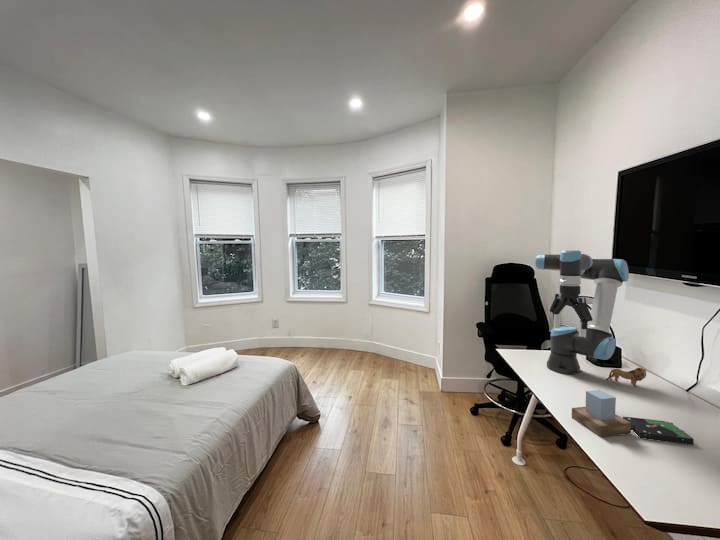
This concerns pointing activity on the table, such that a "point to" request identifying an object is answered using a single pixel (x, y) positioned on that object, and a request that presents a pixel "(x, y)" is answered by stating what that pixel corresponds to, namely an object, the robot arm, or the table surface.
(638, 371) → the lion figurine
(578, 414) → the walnut base
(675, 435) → the disk drive
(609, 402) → the slate block
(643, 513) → the table surface
